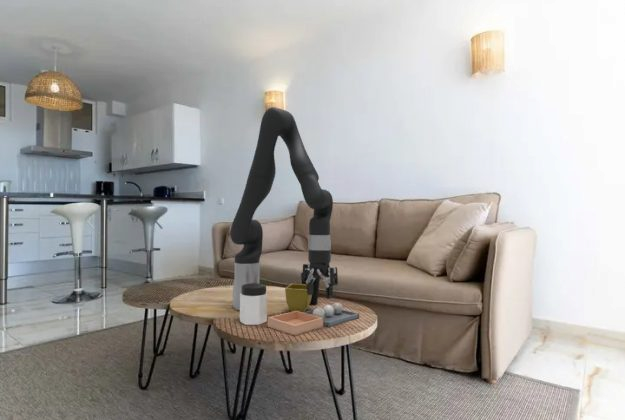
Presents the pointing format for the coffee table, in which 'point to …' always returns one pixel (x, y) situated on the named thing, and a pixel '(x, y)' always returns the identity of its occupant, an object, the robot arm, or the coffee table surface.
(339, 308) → the pebble
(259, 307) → the jar
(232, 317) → the coffee table surface
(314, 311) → the white ball
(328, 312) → the pebble
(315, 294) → the cup
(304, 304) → the flower pot
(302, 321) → the dish
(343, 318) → the tray
